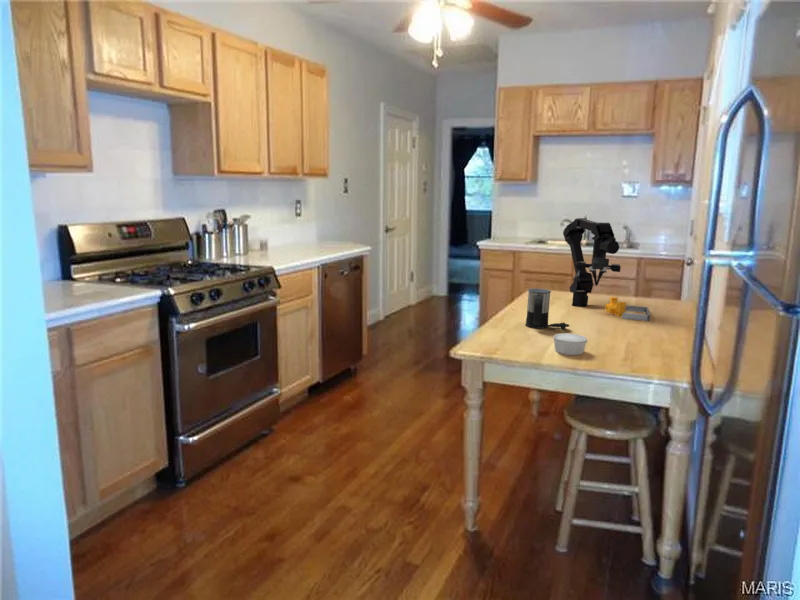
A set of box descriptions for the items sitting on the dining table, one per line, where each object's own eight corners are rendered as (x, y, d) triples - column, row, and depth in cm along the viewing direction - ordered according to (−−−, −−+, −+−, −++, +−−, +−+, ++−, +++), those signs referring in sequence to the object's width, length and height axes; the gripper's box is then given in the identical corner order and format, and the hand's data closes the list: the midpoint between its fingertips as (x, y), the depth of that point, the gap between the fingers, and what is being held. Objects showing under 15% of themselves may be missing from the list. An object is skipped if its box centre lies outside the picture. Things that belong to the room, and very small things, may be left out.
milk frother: (522, 323, 245) (525, 287, 242) (559, 323, 246) (562, 288, 243) (532, 332, 231) (535, 294, 228) (571, 332, 232) (575, 295, 229)
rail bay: (622, 318, 257) (622, 312, 256) (621, 310, 273) (622, 304, 273) (649, 321, 253) (650, 315, 252) (647, 312, 270) (648, 307, 269)
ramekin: (548, 347, 211) (549, 332, 210) (578, 347, 212) (580, 333, 211) (558, 356, 200) (559, 341, 199) (590, 356, 201) (592, 341, 200)
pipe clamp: (605, 310, 272) (606, 296, 271) (614, 310, 272) (615, 297, 271) (614, 316, 260) (615, 302, 259) (624, 317, 260) (625, 302, 259)
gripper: (576, 251, 259) (573, 286, 262) (622, 254, 253) (618, 290, 256) (578, 248, 269) (575, 282, 272) (621, 251, 263) (618, 286, 266)
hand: (596, 285), depth 266 cm, fingers closed
